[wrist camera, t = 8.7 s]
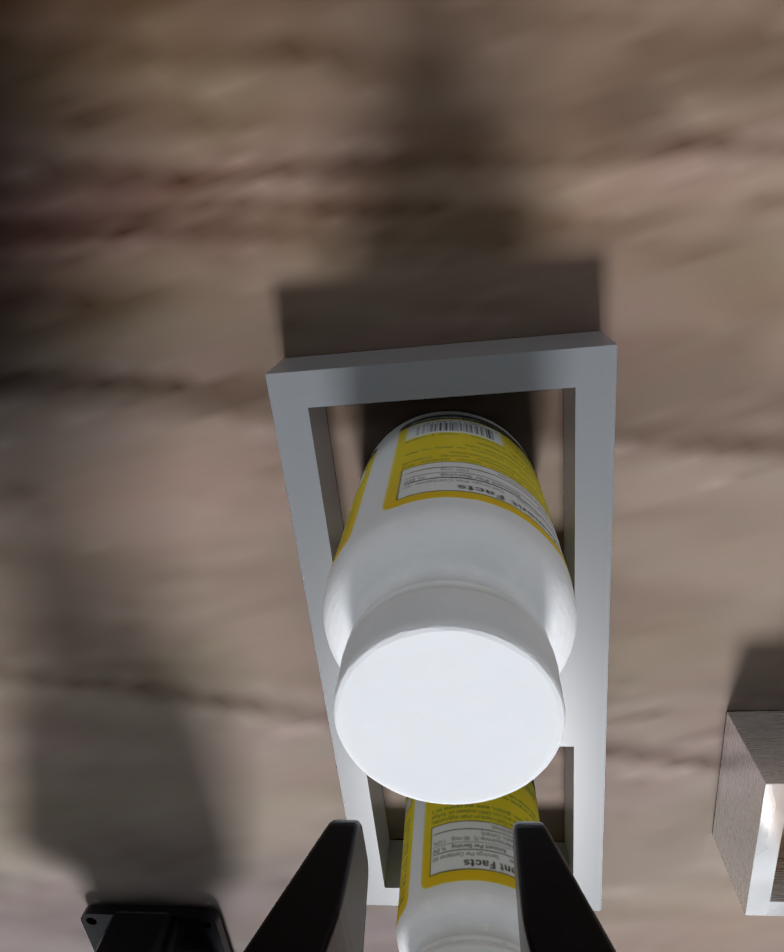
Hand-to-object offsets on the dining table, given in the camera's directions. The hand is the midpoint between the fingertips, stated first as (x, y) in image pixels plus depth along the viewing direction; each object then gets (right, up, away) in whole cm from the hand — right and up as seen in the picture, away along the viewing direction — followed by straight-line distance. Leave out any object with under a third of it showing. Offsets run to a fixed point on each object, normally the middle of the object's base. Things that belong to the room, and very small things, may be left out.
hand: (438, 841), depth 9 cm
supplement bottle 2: (+2, -6, +16) cm, 17 cm away
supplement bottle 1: (+1, +5, +11) cm, 12 cm away
